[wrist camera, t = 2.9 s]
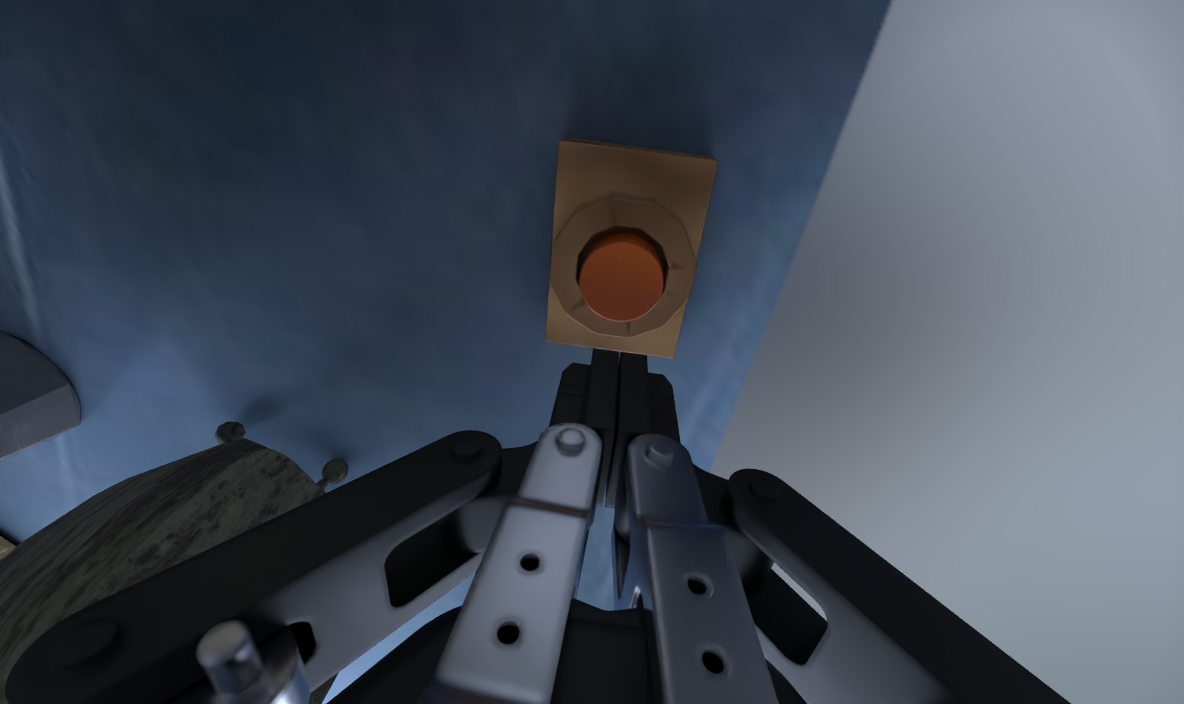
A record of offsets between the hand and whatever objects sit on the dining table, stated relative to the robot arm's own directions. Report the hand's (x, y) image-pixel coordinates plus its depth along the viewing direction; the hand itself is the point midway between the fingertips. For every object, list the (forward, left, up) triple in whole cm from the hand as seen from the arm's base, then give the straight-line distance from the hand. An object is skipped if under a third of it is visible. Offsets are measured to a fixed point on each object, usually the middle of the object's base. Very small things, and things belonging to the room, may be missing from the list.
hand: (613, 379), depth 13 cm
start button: (0, 0, -9) cm, 9 cm away
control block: (0, 0, -13) cm, 13 cm away
